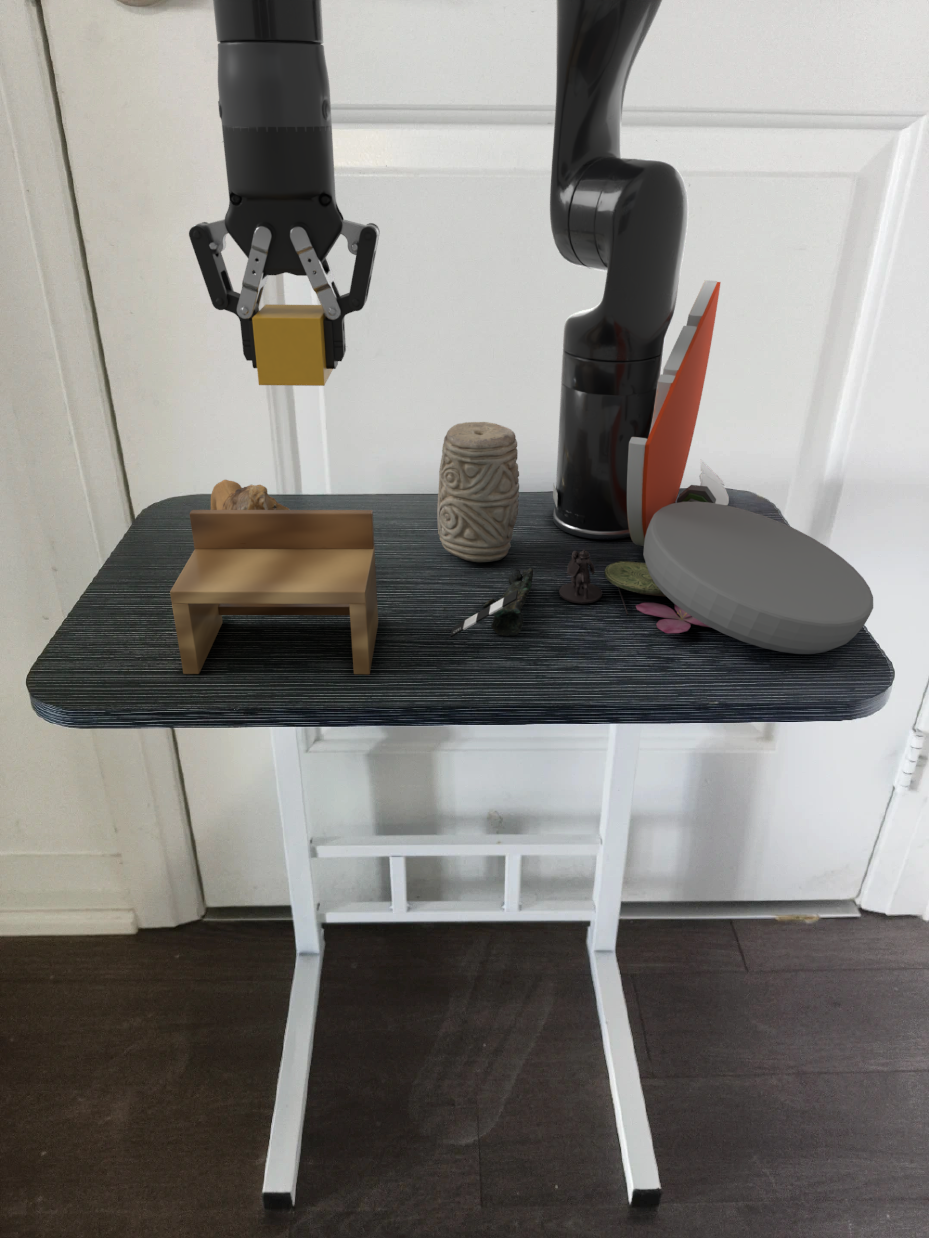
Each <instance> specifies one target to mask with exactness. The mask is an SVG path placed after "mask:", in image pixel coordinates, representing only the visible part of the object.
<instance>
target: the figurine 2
mask: <svg viewBox="0 0 929 1238" xmlns="http://www.w3.org/2000/svg"><path fill="white" fill-rule="evenodd" d="M590 555H591V554H590V552H589V551H588V550H585V549H584V548H583V549H582V550H581V551H580V552H579V551H578V550H573V551H572V553H571V556H570V558H571V559H570V561H569V562H568V564H567V568H566V569H567V570H566V574H567V576H570V582H568V583H565V584H563V585H561V586H560V588H559V589H558V590H559V591H558V594H559V596H560V597H561V598H562V599H563V600H565V601H567V602H570V603H572V604H573V603H574V604H581V605H582V604H584V605H585V604H592V603H595V602H597V601H600V599H602V597H603V590H602V589H601V588H600V587H599V586H598V585H595V584H594V583H592V582H591V577H590V576H591V575H592V576H594V575H595V574H596V569H595V565H594V564H593V562H592V559H591V556H590ZM590 573H591V575H590ZM617 589H618V593H619V596H620V598H621V601H622V604H623V607H624V611H625V613H626V615H627V616H629V611H628V609H627V605H626V603H625V600H624V596H623V594H622V591H621V588H620V587H618V586H617Z"/></svg>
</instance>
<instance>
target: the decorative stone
mask: <svg viewBox="0 0 929 1238" xmlns="http://www.w3.org/2000/svg"><path fill="white" fill-rule="evenodd" d="M642 553H643V555H642V556H643V559H644V561H645V562H644V563H646V565H647V568H648V571H649V574H650V576H651V577H652V579H653V581H654V583H655V584H656V585H657V586H658V588H659V589H660V590H661V591H662V592H663V594H664V595H666V596H665V597H667V598H668V599H669V600H670V601H671V602H672V603H673V604H676V605H677V606H678V607H680V608H681V609H682V610H684V611H685V612H686V613H688V614H689V615H691V617H694V618H696V619H697V620H699V621H701V622H702V623H704V624H706V625H707V626H709V627H708V628H712V629H713V630H715V631H717V632H719V633H722V634H723V635H726V636H727V637H728V636H729V637H731V638H733V639H736V640H738V641H740V642H743V643H745V644H750V645H752V646H755V647H758V648H762V649H766V650H771V651H776V652H779V653H787V654H793V655H794V654H795V655H815V654H821V653H826V652H829V651H831V650H834V649H837V648H840V647H842V646H844V645H846V644H847V643H849V642H850V641H852V639H854V637H856V636H857V634H859V633H860V632H861V630H862V629H863V627H864V626H865V625H866V623H867V621H868V619H869V617H870V616H871V614H872V612H873V609H874V595H873V593H872V590H871V587H870V586H869V585H868V583H867V581H866V580H865V578H864V576H862V575H861V574H860V572H859V571H857V570H856V569H855V567H854V566H852V565H851V564H850V563H849V562H848V561H847V560H846V559H844V557H842V556H841V555H839V554H838V553H837V552H835V551H833V549H831V548H830V547H828V546H827V545H825V544H824V543H821V542H820V541H818V540H817V539H815V538H813V537H812V536H809V535H808V534H806V533H804V532H802V531H800V530H798V529H797V528H794V527H792V526H789V525H787V524H785V523H783V522H781V521H779V520H776V519H773V518H771V517H768V516H765V515H763V514H760V513H757V512H753V511H751V510H747V509H743V508H739V507H736V506H733V505H732V506H731V505H722V504H716V503H708V502H679V503H677V502H675V503H673V504H670V505H667V506H665V507H662V508H661V509H660V510H658V511H657V512H656V513H655V514H654V515H653V517H652V519H651V521H650V524H649V526H648V529H647V532H646V535H645V541H644V546H643V552H642Z"/></svg>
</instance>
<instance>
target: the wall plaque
mask: <svg viewBox="0 0 929 1238" xmlns="http://www.w3.org/2000/svg"><path fill="white" fill-rule="evenodd" d="M720 288H721V281H718V280H710V279H709V280H706V279H705V280H704V281H703V283H702V285H701V288H700V289H699V291H698V293H697V296H696V298H695V300H694V302H693V304H692V307H691V308H690V311H689V313H688V316H687V321H686V325H682V328H681V330H680V332H679V334H678V337H677V339H676V340H675V343H674V345H673V348H672V349H671V352H670V354H669V356H668V358H667V360H666V363H665V365H664V366H663V368H662V369H663V370H662V373H661V375H660V377H659V379H658V383H657V390H656V398H655V405H654V412H653V418H652V424H651V429H650V433H649V437H648V439H646V438H639V437H631V439H630V442H629V452H628V472H627V516H628V527H629V532H630V536H631V537H630V539H631V541H632V543H633V544H634V545H636V546H641V547H644V541H645V535H646V532H647V529H648V526H649V524H650V521H651V519H652V517H653V515H654V514H655V513H656V512H657V511H658V510H660V509H661V508H662V507H665V506H667V505H670V504H673V503H677V499H678V497H679V493H680V489H681V485H682V481H683V479H684V475H685V470H686V467H687V463H688V458H689V454H690V451H691V446H692V441H693V437H694V433H695V428H696V424H697V419H698V416H699V415H698V414H699V411H700V405H701V400H702V396H703V390H704V386H705V380H706V375H707V369H708V364H709V358H710V353H711V348H712V347H711V346H712V342H713V341H712V340H713V335H714V330H715V322H716V317H717V309H718V303H719V297H720Z"/></svg>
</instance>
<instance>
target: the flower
mask: <svg viewBox="0 0 929 1238" xmlns="http://www.w3.org/2000/svg"><path fill="white" fill-rule="evenodd" d="M673 604H674V603H673ZM635 608H636V610H637V611H639V612H640V613H642V614H645V615H649V616H654V617H659V618H661V619H659V620H658V621H657V622H656V623H655V625H656V627H657V629H658V630H660V631H661V632H664V633H665V634H680V633H684V632H688V631H689V630H690V628H691V627H692V626H691V625H693V626H698V627H705V628H710V627H709V626H707V625H706V624H704V623H702V622H701V621H699V620H697V619H696V618H694V617H692V616H691V615H689V614H688V613H686V612H685V611H684V610H682V609H681V608H680V607H678V606H677V605H676V604H674V609H673V608H671V607H669V606H668V605H666V604H661V603H657V602H641V603H639V604H636V605H635Z"/></svg>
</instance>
